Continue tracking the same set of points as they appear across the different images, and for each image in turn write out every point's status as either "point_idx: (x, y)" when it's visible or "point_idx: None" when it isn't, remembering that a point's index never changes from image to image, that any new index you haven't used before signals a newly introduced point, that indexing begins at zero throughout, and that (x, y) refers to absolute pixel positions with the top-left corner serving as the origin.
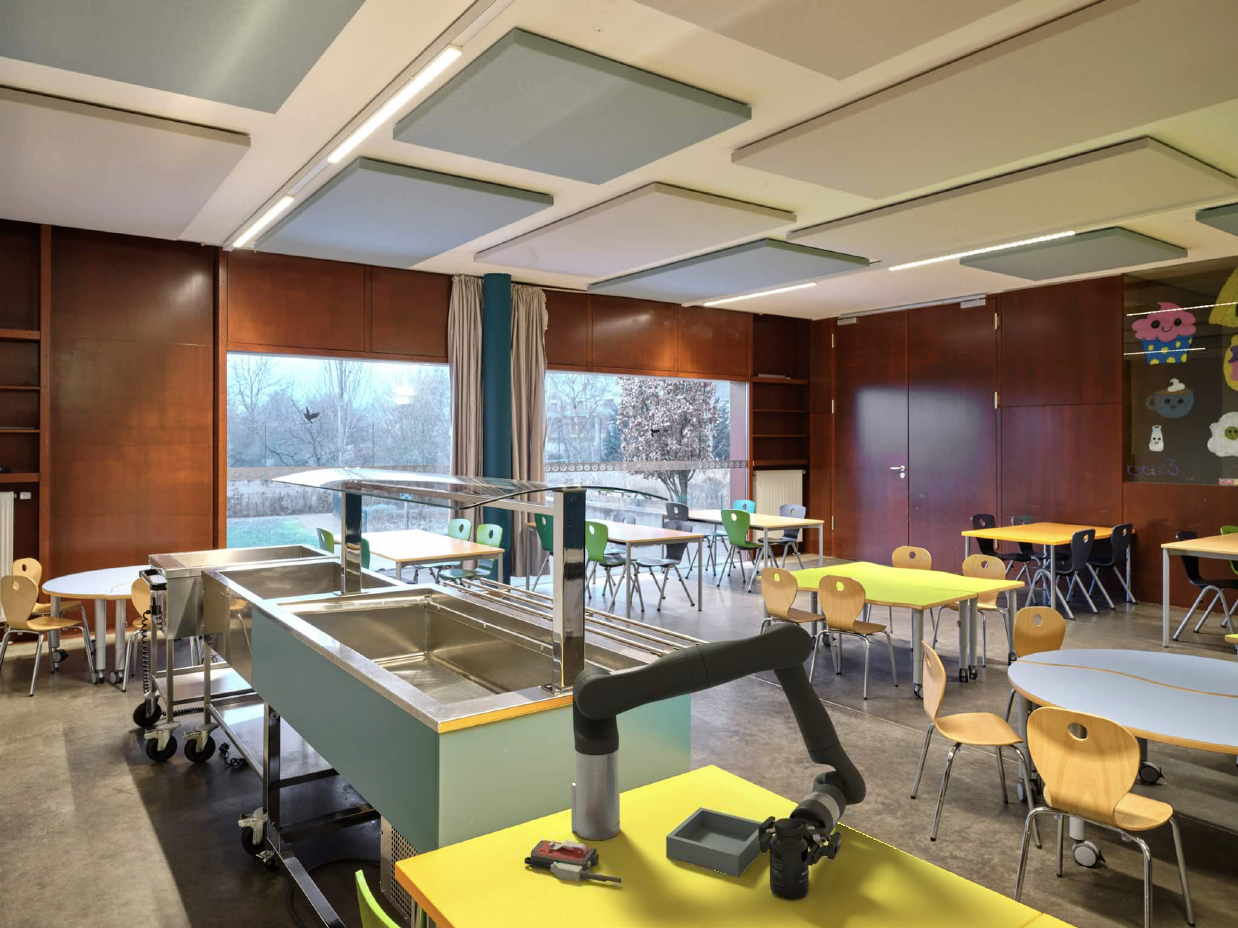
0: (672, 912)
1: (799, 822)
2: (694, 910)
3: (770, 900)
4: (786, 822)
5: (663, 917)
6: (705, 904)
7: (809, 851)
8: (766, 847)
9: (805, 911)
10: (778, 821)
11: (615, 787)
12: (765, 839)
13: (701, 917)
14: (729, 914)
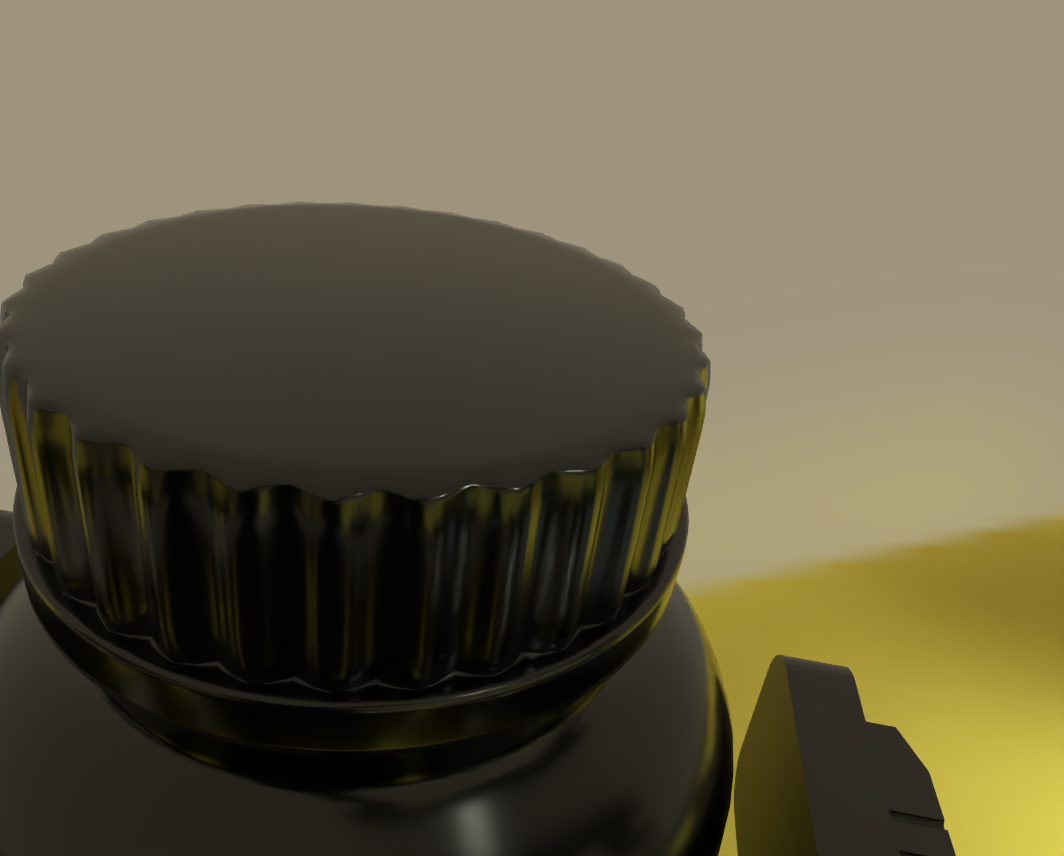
0: (1017, 568)
1: (59, 350)
2: (937, 604)
3: None
4: (442, 323)
5: (1013, 531)
6: (932, 668)
7: (3, 546)
8: (756, 784)
9: None
10: (641, 334)
11: None
12: (820, 715)
13: (856, 563)
14: (735, 614)
